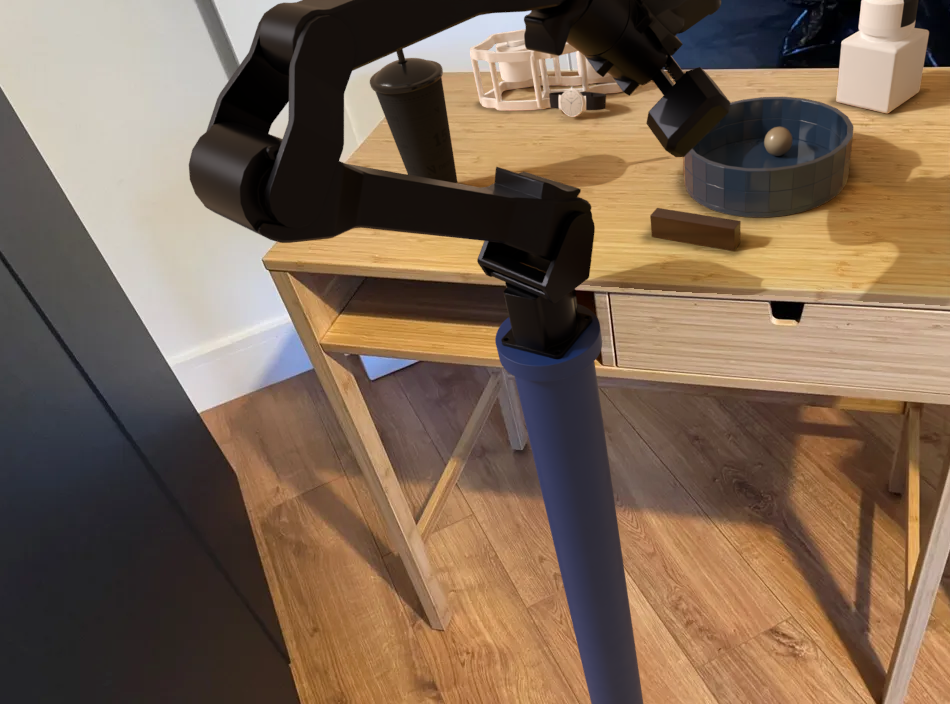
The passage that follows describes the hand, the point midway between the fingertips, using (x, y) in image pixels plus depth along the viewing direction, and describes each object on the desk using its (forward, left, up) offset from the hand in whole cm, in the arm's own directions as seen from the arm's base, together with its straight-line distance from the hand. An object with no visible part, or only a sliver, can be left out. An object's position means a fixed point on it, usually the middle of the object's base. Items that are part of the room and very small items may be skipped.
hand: (690, 94), depth 78 cm
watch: (+17, +23, -9) cm, 31 cm away
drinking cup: (-7, +29, -12) cm, 32 cm away
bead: (+11, -5, -9) cm, 15 cm away
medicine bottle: (+29, -11, -12) cm, 33 cm away
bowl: (+7, -5, -11) cm, 14 cm away
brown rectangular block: (-7, -3, -11) cm, 14 cm away
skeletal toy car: (+22, +30, -11) cm, 39 cm away
